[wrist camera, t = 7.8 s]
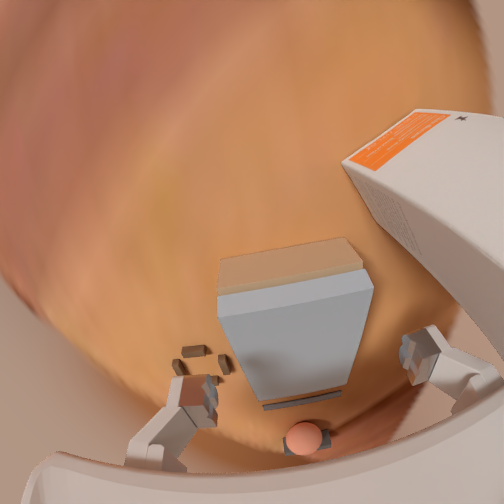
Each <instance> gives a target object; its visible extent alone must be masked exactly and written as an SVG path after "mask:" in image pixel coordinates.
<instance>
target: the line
mask: <svg viewBox="0 0 504 504" xmlns="http://www.w3.org/2000/svg"><path fill="white" fill-rule="evenodd" d="M339 396H341V391H336V392H332V393H328V394H323V395H319V396H314V397H309V398H304V399H299V400H293V401H288V402H282V403H275V404H268V405H263V408H264V411H265V410H272V409H279V408H285V407H291V406H297V405H302V404H307V403H312V402H317V401H322V400H326V399H331V398H335V397H339Z"/></svg>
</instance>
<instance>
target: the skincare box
mask: <svg viewBox="0 0 504 504" xmlns="http://www.w3.org/2000/svg"><path fill="white" fill-rule="evenodd" d="M341 164H342V166H343V168H344V169H345V171H346V172H347V174H348V175H349V177H350V178H351V180H352V182H353V183H354V185H355V187H356V188H357V190H358V192H359V193H360V195H361V197H362V199H363V200H364V202H365V204H366V205H367V207H368V209H369V211H370V213H371V214H372V216H373V218H374V220H375V221H376V222H377V223H378V224H379V225H380V226H381V227H382V228H383V229H384V230H386V231H387V232H388V233H389V234H390V235H391V236H392V237H393V238H394V239H396V240H397V241H398V242H399V243H400V244H401V245H402V246H403V247H404V248H405V249H406V250H407V251H408V252H409V253H410V254H411V255H412V256H414V257H415V258H416V259H417V260H418V261H419V262H420V263H421V264H422V265H423V266H424V267H425V268H426V269H427V270H428V271H429V272H430V273H431V274H432V275H433V276H434V277H435V279H436V280H437V281H438V282H439V283H440V284H441V285H442V286H443V287H444V288H445V289H446V290H447V291H448V292H449V293H450V294H451V296H452V297H453V298H454V299H455V300H456V301H457V302H458V303H459V304H460V306H461V307H462V308H463V309H464V310H465V311H466V312H467V313H468V315H469V316H470V317H471V319H472V320H473V321H474V322H475V323H476V324H477V326H478V327H479V328H480V329H481V331H482V332H483V333H484V334H485V336H486V337H487V338H488V339H489V341H490V342H491V344H492V345H493V346H494V348H495V349H496V350H497V352H498V353H499V355H500V356H501V357H502V359H503V360H504V117H498V116H493V115H486V114H479V113H470V112H459V111H447V110H434V109H415V110H414V111H413V112H411V113H410V114H409V115H408V116H406V117H405V118H403V119H402V120H400V121H399V122H398V123H396V124H395V125H393V126H392V127H391V128H389V129H388V130H387V131H385V132H384V133H382V134H381V135H380V136H378V137H377V138H375V139H374V140H372V141H371V142H369V143H368V144H367V145H365V146H363V147H362V148H361V149H359V150H358V151H356V152H355V153H353V154H352V155H351V156H349V157H348V158H346V159H345V160H343V161H342V163H341Z"/></svg>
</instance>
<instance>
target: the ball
mask: <svg viewBox="0 0 504 504" xmlns="http://www.w3.org/2000/svg"><path fill="white" fill-rule="evenodd" d="M321 443H322V433H321V431H320V429H319V428H318V427H317V426H316V425H314V424H312V423H307V422H303V423H299V424H296V425H294V426H293V427H292V428H291V429H290V430H289V431H288V433H287V435H286V444H287V447H288V448H289V449H290V450H291V451H292V452H293V453H295V454H298V455H308V454H311V453H313V452H315V451H316V450H317V449H318V448H319V447H320V445H321Z"/></svg>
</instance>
